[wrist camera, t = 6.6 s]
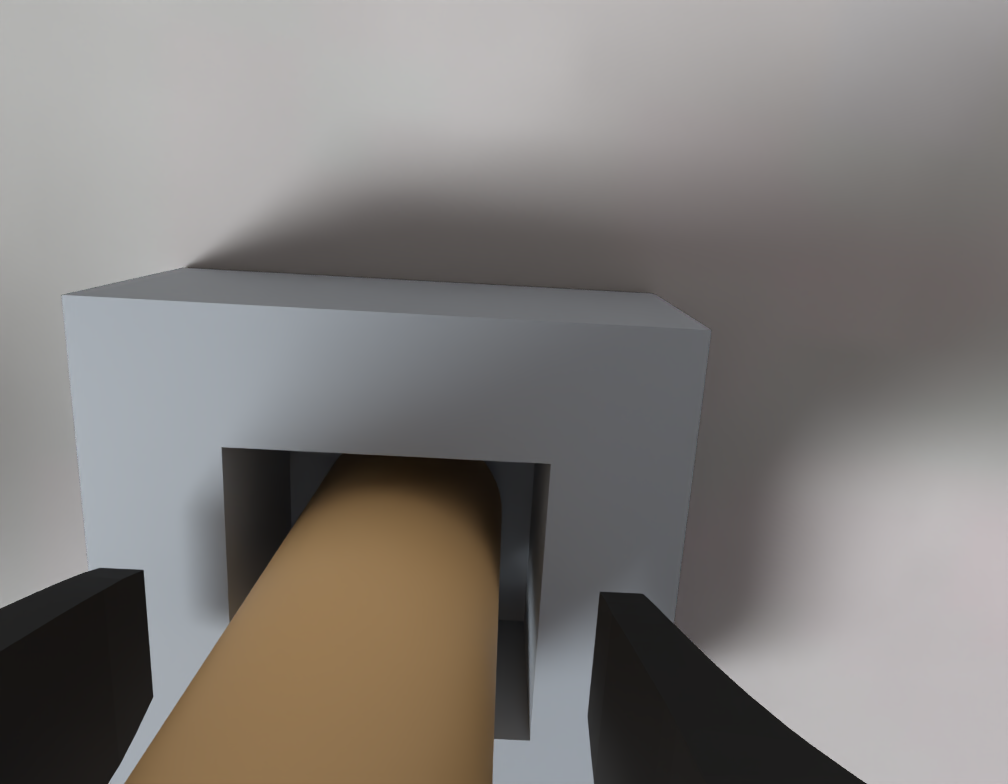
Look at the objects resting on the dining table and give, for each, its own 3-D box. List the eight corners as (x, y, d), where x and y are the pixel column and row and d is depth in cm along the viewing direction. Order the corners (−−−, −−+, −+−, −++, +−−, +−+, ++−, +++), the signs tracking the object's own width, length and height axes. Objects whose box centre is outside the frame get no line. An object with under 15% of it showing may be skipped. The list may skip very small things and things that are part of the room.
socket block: (654, 293, 14) (711, 330, 10) (611, 696, 16) (645, 850, 13) (182, 267, 14) (61, 295, 10) (205, 677, 16) (113, 827, 12)
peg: (507, 430, 14) (496, 863, 5) (496, 596, 15) (472, 1211, 6) (321, 419, 14) (-24, 831, 5) (322, 586, 15) (33, 1186, 6)
